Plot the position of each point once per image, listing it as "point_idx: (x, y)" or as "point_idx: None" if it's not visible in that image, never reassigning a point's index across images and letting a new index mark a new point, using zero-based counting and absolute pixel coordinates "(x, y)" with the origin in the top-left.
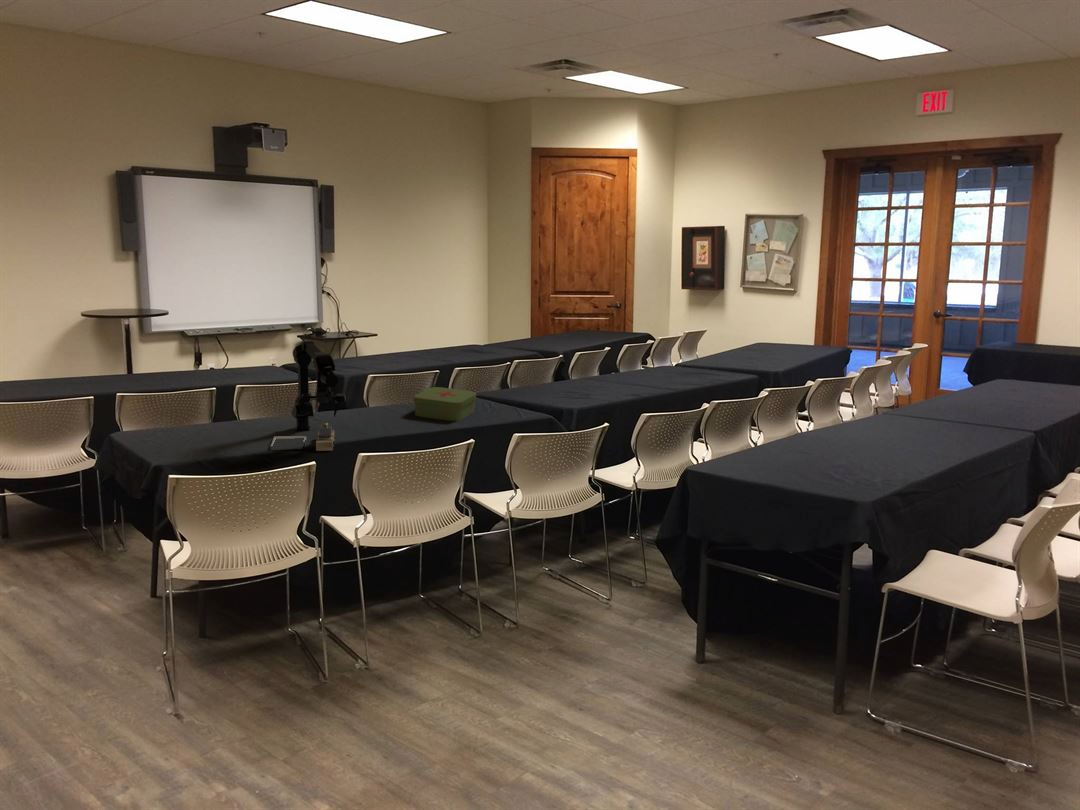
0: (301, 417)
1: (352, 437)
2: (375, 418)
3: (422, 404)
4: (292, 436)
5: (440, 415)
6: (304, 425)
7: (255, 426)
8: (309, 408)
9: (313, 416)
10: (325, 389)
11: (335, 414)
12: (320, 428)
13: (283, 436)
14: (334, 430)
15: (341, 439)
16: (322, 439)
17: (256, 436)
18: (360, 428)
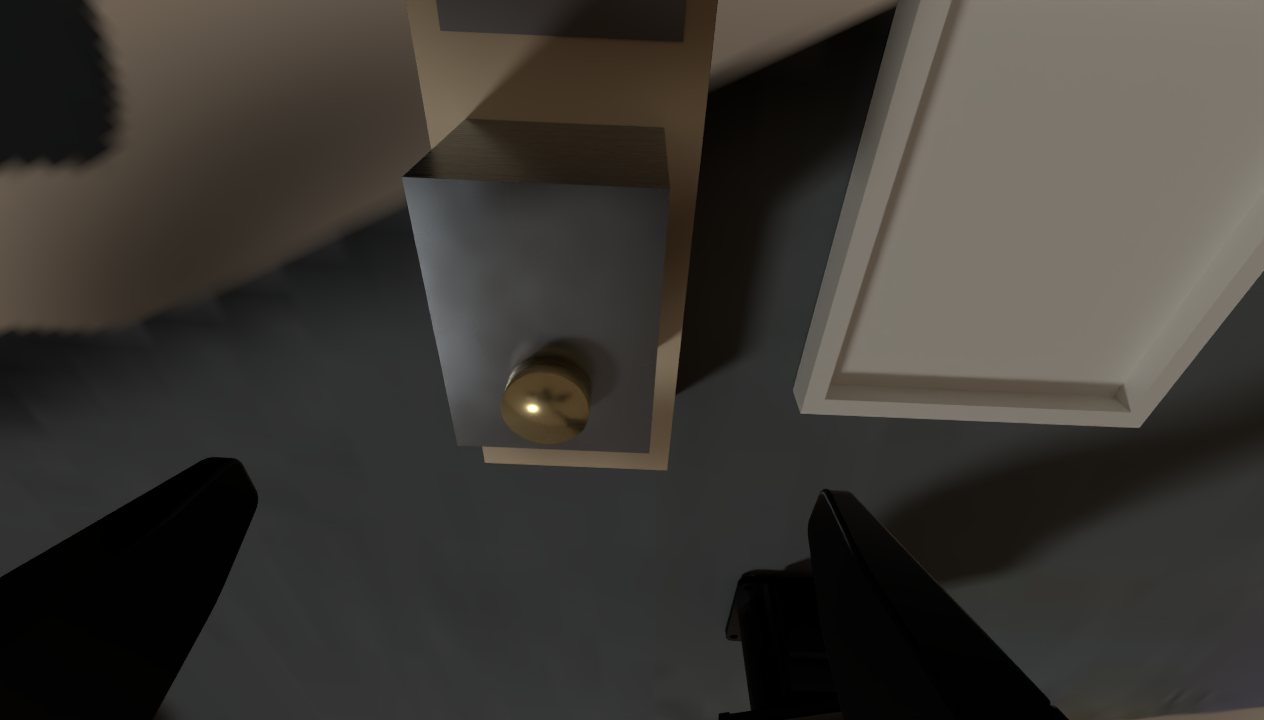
0: (822, 700)
1: (336, 414)
2: (319, 707)
3: None
4: (948, 416)
5: None
6: (786, 616)
7: (1100, 656)
8: None
9: (832, 496)
10: None
11: (122, 507)
12: (635, 194)
13: (1043, 422)
14: (484, 456)
15: (430, 366)
16: (603, 35)
17: (1226, 493)
18: (349, 589)
